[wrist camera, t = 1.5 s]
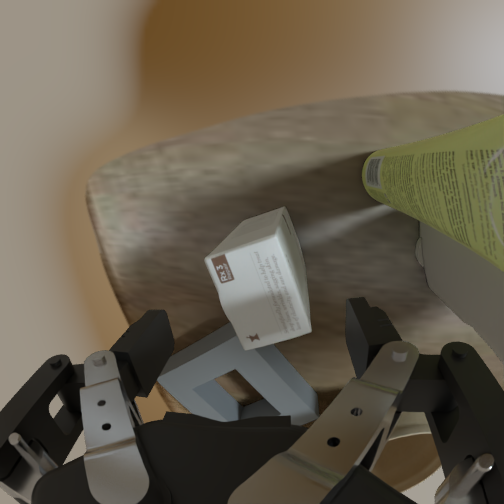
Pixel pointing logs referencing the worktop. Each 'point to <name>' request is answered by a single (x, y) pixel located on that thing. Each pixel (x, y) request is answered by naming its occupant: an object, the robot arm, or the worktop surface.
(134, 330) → the robot arm
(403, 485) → the planter bowl
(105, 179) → the worktop surface
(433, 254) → the tall pale column
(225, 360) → the socket frame
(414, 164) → the tube
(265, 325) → the skincare box
